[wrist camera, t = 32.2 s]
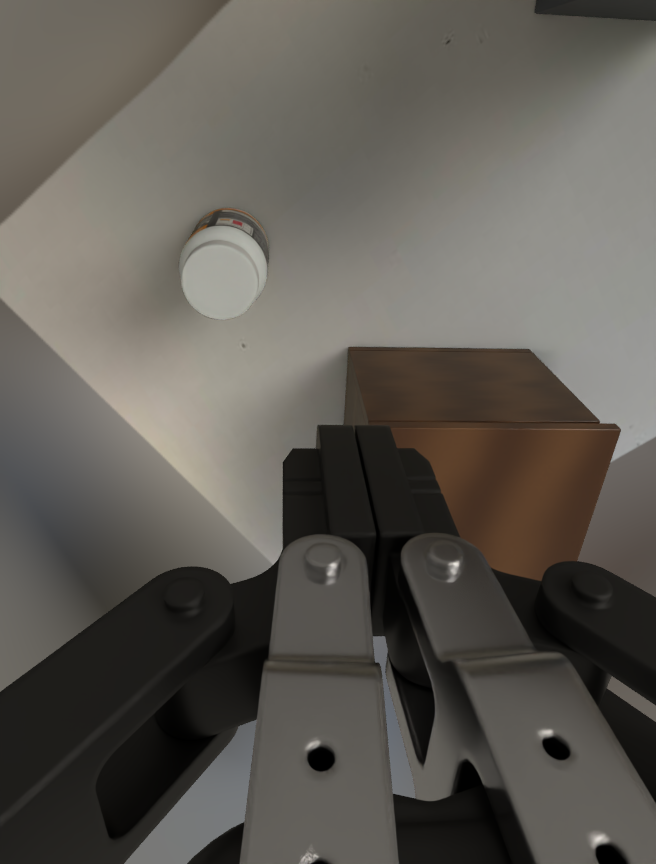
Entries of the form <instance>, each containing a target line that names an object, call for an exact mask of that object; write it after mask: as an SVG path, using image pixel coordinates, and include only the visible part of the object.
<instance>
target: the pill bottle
mask: <svg viewBox="0 0 656 864" xmlns="http://www.w3.org/2000/svg"><path fill="white" fill-rule="evenodd" d="M268 259H269V245H268V239H267V236H266V233H265V231H264V229H263V228H262V226H261V225H260V223H259V222H258V221H257V220H256V219H255V218H254V217H253V216H251V215H250V214H248V213H247V212H245V211H242V210H240V209H236V208H220V209H217V210H214V211H212V212H210V213H208V214H207V215H205V216H204V217H203V218H202V219H201V220H200V221H199V223H198V224H197V226H196V227H195V229H194V231H193V232H192V234H191V236H190V237H189V239H188V241H187V242H186V244H185V246H184V247H183V250H182V252H181V255H180V259H179V273H180V278H181V285H182V290H183V293H184V295H185V297H186V299H187V301H188V302H189V304H190V305H191V306H192V307H193V308H194V309H195V310H196V311H198V312H199V313H200V314H202V315H204V316H206V317H209V318H212V319H217V320H228V319H233V318H236V317H238V316H240V315H242V314H243V313H245V312H246V311H247V310H248V309H249V308H250V307H251V305H252V304H253V302H254V301H255V300H256V299H257V298H258V297H259V296H260V294H261V293H262V291H263V289H264V286H265V283H266V280H267V275H268Z"/></svg>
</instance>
